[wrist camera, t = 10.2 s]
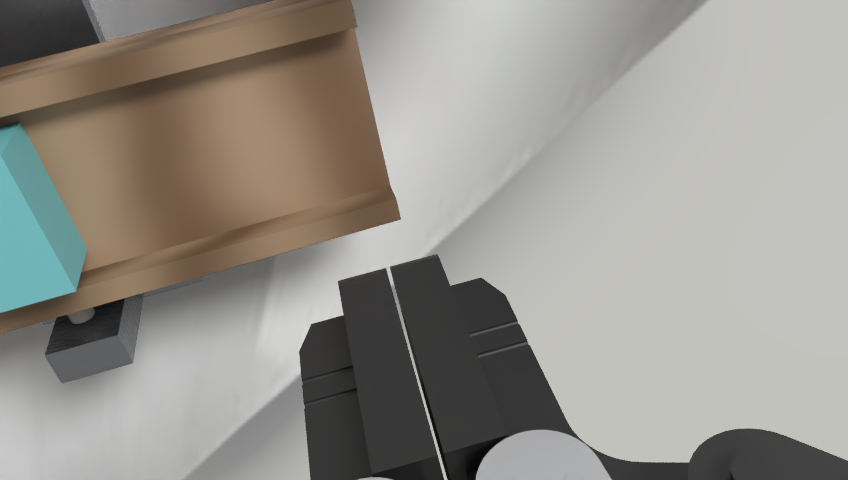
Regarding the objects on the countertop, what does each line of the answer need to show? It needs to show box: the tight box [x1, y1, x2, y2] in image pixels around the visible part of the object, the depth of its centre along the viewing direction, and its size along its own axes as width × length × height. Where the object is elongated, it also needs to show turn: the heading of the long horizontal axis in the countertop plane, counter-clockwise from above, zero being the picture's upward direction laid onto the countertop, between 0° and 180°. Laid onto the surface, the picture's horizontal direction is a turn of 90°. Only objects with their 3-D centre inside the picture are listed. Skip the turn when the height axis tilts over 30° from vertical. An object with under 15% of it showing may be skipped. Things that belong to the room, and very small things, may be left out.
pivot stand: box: [0, 0, 202, 383], centre depth 30 cm, size 8×18×8 cm, turn 10°
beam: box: [0, 0, 401, 333], centre depth 28 cm, size 28×12×2 cm, turn 100°
